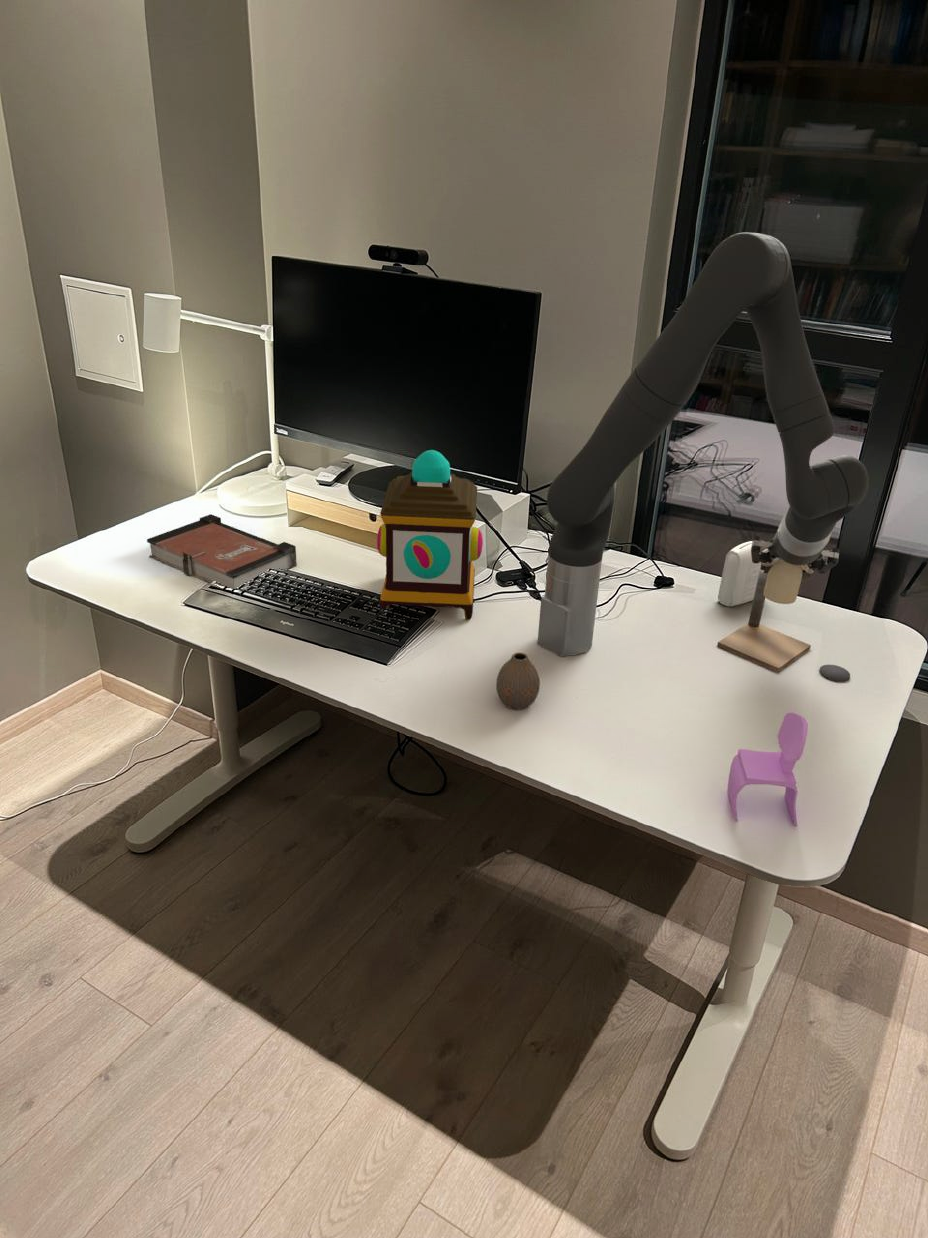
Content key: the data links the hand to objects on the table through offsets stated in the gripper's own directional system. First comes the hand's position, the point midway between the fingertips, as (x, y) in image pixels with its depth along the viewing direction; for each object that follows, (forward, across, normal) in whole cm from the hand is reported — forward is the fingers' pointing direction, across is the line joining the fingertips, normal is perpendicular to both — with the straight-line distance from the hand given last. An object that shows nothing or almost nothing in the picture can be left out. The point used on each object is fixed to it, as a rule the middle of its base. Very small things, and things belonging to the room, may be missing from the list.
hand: (784, 570), depth 155 cm
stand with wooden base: (+13, -1, +10) cm, 16 cm away
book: (+12, +109, +14) cm, 111 cm away
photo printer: (+25, +5, -2) cm, 25 cm away
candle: (+2, 0, +4) cm, 5 cm away
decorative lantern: (+10, +64, +13) cm, 66 cm away
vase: (-11, +39, +34) cm, 53 cm away
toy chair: (-21, +1, +44) cm, 49 cm away
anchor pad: (+7, -12, +15) cm, 20 cm away
